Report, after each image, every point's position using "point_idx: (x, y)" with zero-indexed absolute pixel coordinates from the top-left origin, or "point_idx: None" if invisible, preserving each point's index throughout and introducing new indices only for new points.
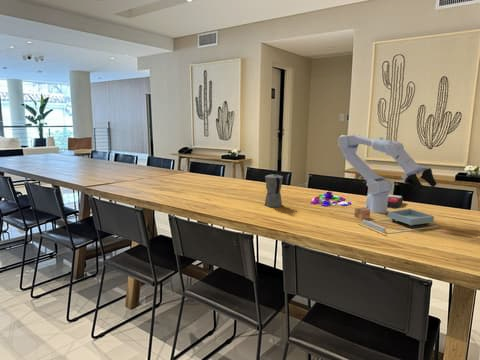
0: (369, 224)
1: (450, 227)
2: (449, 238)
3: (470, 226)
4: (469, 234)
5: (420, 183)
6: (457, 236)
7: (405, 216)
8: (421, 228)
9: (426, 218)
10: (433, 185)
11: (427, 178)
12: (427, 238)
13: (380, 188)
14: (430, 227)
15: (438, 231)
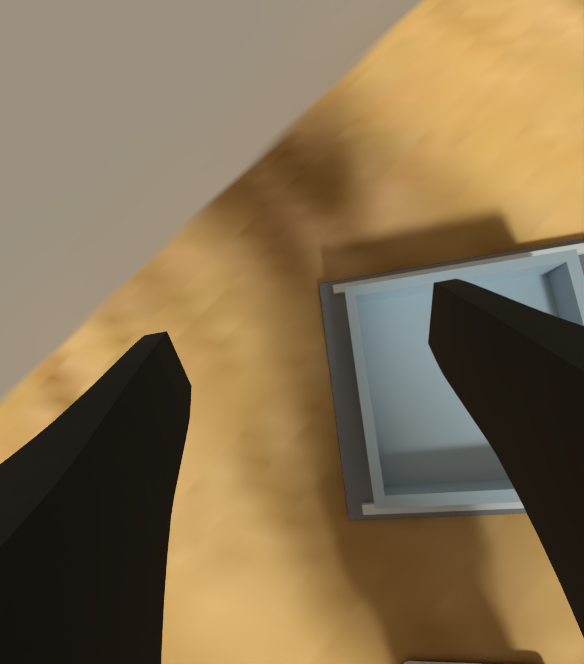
0: None
1: (249, 294)
2: (400, 147)
3: (143, 291)
4: (255, 188)
5: (506, 316)
6: (336, 168)
7: (466, 431)
8: (466, 263)
9: (415, 277)
10: (180, 373)
11: (138, 517)
12: (522, 155)
13: None
14: (391, 275)
15: (368, 247)
